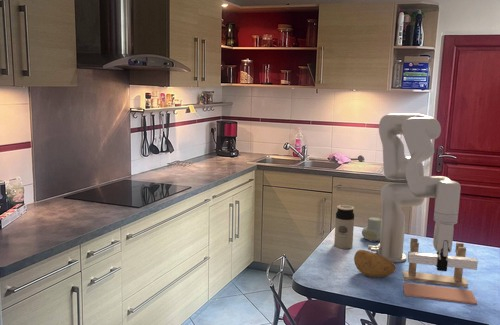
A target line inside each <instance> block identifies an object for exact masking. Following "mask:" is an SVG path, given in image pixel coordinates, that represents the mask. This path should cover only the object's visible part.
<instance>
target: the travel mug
mask: <svg viewBox="0 0 500 325" xmlns="http://www.w3.org/2000/svg"><path fill="white" fill-rule="evenodd" d="M336 208H337V211H336V213H335V224H334V226H335V228H334V242H333V243H334V244H333V245H334V247H336V248H338V249H343V250H347V249H351V248H353V245H354V244H353V243H354V230H355V229H354V228H355V227H354V226H355V225H354V224H355V213H354V210H355V207H354V206H353V205H348V204H339V205H337V206H336Z"/></svg>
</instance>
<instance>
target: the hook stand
mask: <svg viewBox="0 0 500 325" xmlns="http://www.w3.org/2000/svg"><path fill="white" fill-rule="evenodd" d="M418 241H419V240H418V238H415V237H413V238H412V237H411V238H410V243H409V247H410V250H409V252H419V245H420V243H419V242H418ZM464 245H465V243H464V242H455V256H458V257H466V252H467V248H466V247H464ZM417 265H418V264H417V263H408V270H403V271H402V278H403V281H409V282H417V283H418V282H419V283H427V284H435V285H442V286H443V285H445V286H453V287H461V288H468V287H469V286H468V285H469V284H468V282H467V280H466V278H465V277H463V272H464V268H453V269H454V270H453V276H451V275H444V274H433V273H425V272H417Z"/></svg>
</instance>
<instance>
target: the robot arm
mask: <svg viewBox="0 0 500 325" xmlns="http://www.w3.org/2000/svg"><path fill="white" fill-rule="evenodd" d="M441 132H442V128H441V124H440V122H439V121H438V119H436V118H435V117H432V116H429V115H425V114H421V113H399V112H398V113H389V114H385V115H383V116H382V117H381V118H380V120H379V123H378V135H379V138H380V141H381V142H380V143H381V144H382V145H381V146H382V160H383V163H382V165H383V175H384V177H385V178H386V179H387V180H392V181H403V180H404V181H405V180H406V181H407V182H393V183H387V184H385V185H384V186H382V188H381V189H380V201H381V202H380V203H381V218H380V219H381V233H380V241H379V243H378V244H376V245H369V244H368V247H367V249H368V250H367V251H370V252H373V253H376V254H378V255H381V256H383V257H385V258H387V259H389V260H391V261H392V262H393V263H403V262H405V261H406V260H407V255H406V254H405V253H404V243H405V242H404V241H405V228H406V214H405V213H404V211H403V210H402V207H416V206H420V205H423V203H424V201H425V198H426V199H427V198H430V199H431V198H433V199H434V208H433V210H434V212H433V221H434V222H435V224H434V232H433V240H432V245H433V247H434V250H435V252H436V254H438V255H439V259H438V260H437V266H436V265H434V266H435V267H436V270H437V271H439V272H447V271H448V267H447V264H448V256H449V254H450V253H451V252H452V248H453V240H454V239H453V238H454V226H455V225H456V224H458V221H459V220H458V218H459V208H460V198H461V184H460V183H459V182H458V181H455V180H451V179H450V178H449V177H447V176H443V175H428V176H427V175H425V171H424V165H423V162H424V161H427V160H429V159H430V158H432V156H433V155H434V154H435V148H434V146H433V143H432V140H436V139H438V138H439V137H440V135H441ZM398 135H402V136H403V139H404V141H405V143H406V146H407V150H408V152H409V154H410V156H406V154H405V145H404V143H403V140H401V137H399V136H398Z"/></svg>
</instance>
